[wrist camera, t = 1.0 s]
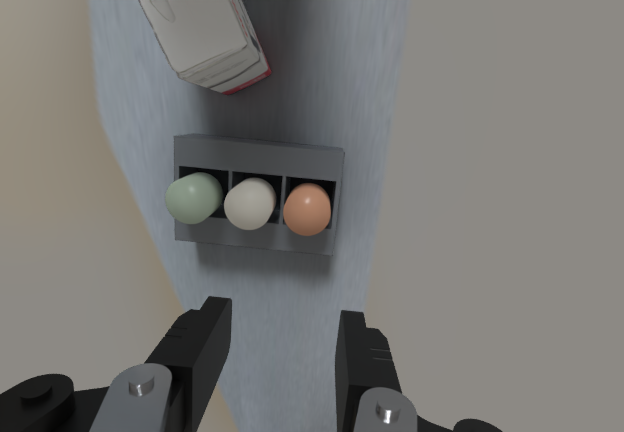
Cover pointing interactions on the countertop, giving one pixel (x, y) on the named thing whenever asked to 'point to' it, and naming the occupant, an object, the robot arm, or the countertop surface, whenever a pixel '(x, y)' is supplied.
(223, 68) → the ink box
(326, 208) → the terracotta button
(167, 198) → the sage button
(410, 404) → the robot arm
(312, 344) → the countertop surface
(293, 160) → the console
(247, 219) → the cream button
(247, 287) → the countertop surface
